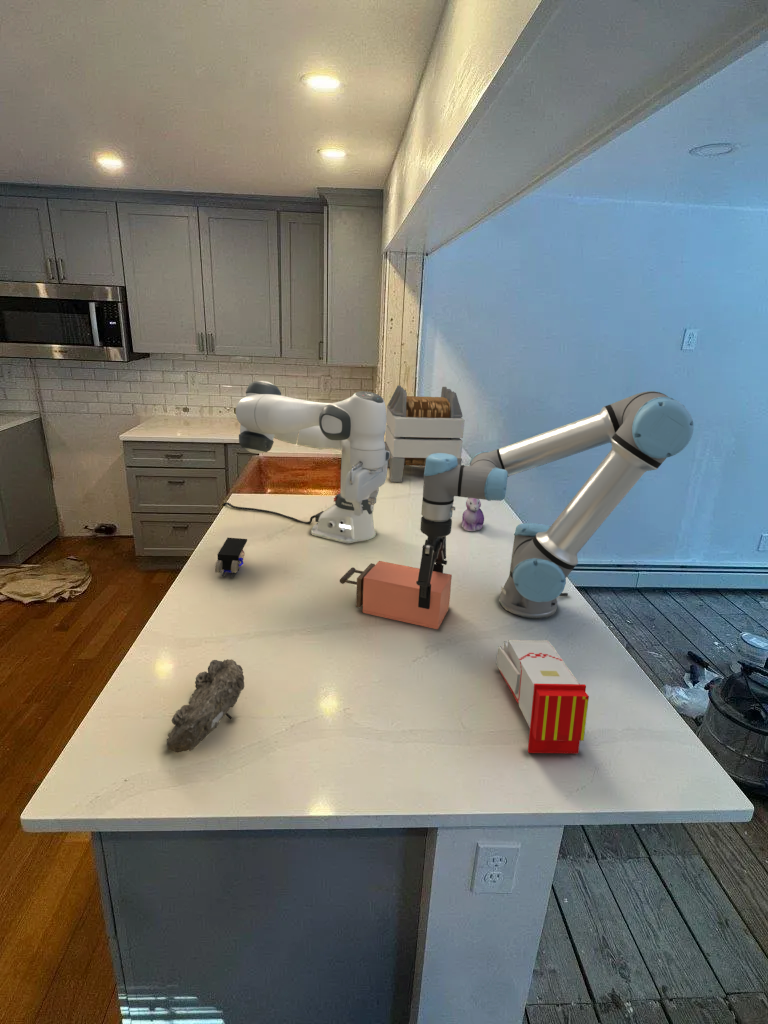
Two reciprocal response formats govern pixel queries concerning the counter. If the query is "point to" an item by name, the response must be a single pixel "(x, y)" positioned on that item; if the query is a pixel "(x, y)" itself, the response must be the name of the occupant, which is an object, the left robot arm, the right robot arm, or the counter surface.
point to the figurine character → (230, 556)
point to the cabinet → (405, 595)
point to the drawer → (359, 582)
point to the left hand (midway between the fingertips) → (365, 509)
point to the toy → (545, 695)
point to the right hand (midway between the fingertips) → (430, 597)
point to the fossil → (206, 705)
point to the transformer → (421, 429)
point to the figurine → (472, 515)
